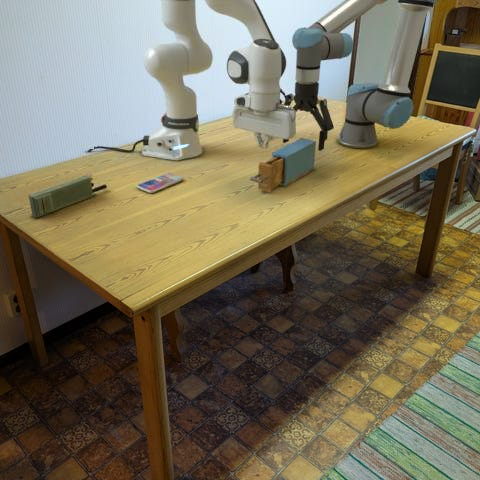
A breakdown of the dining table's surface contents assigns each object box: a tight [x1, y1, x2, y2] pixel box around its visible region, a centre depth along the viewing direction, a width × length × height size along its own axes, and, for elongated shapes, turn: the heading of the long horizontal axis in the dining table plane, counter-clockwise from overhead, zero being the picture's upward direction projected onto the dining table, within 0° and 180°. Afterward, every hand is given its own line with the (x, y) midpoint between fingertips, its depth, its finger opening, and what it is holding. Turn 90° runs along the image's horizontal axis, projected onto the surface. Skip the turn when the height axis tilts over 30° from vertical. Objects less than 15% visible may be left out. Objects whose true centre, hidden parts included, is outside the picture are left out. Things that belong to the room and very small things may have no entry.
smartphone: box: [136, 172, 184, 194], centre depth 164 cm, size 7×1×15 cm
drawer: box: [249, 156, 285, 193], centre depth 161 cm, size 23×4×8 cm, turn 144°
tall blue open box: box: [271, 137, 317, 188], centre depth 169 cm, size 19×6×10 cm, turn 144°
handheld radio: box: [28, 173, 108, 219], centre depth 150 cm, size 7×3×25 cm
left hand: (262, 147), depth 151 cm, fingers closed
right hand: (303, 145), depth 171 cm, fingers open, 13 cm apart
